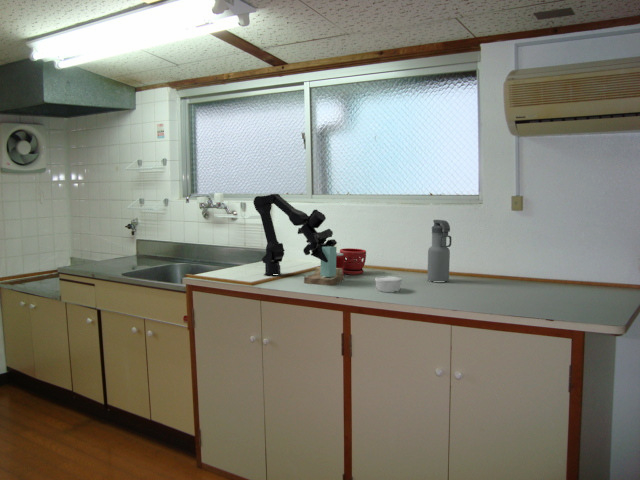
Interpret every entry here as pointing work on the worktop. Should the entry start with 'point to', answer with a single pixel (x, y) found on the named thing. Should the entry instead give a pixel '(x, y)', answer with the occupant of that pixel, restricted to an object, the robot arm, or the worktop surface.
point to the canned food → (340, 261)
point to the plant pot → (353, 260)
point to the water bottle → (439, 252)
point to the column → (330, 266)
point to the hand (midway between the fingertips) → (330, 261)
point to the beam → (338, 271)
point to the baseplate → (323, 279)
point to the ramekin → (388, 283)
